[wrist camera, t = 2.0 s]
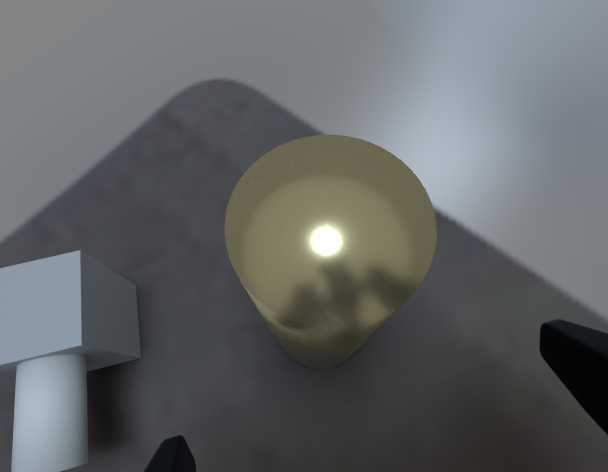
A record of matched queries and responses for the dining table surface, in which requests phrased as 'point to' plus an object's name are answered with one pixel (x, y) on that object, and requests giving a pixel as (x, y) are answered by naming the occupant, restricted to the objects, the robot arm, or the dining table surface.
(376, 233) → the olive pillar candle
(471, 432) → the dining table surface
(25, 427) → the shaft on bearing block
